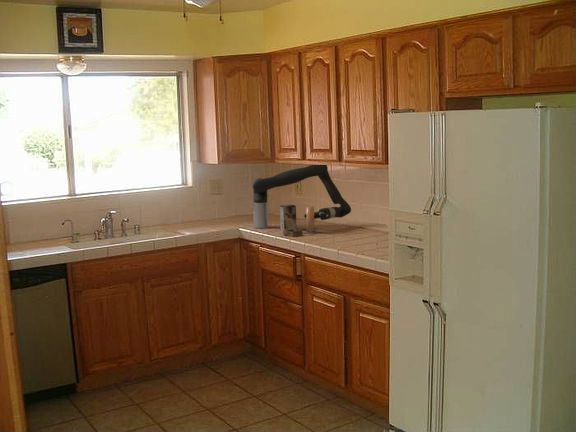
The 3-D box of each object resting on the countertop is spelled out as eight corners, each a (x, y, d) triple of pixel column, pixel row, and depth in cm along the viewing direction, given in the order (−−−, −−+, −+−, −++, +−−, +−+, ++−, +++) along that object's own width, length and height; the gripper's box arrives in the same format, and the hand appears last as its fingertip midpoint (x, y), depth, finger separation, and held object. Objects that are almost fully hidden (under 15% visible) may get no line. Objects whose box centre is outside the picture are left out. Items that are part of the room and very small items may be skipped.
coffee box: (293, 228, 450) (292, 204, 447) (296, 229, 444) (296, 205, 442) (280, 229, 446) (279, 205, 444) (283, 231, 440) (283, 206, 438)
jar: (305, 232, 430) (304, 207, 427) (310, 231, 433) (309, 206, 431) (311, 233, 426) (310, 207, 424) (316, 231, 429) (315, 206, 427)
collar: (283, 235, 423) (283, 230, 422) (293, 233, 428) (292, 229, 428) (293, 236, 417) (292, 232, 416) (302, 235, 423) (302, 230, 422)
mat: (300, 233, 430) (300, 232, 429) (310, 231, 436) (310, 230, 436) (311, 234, 423) (311, 233, 423) (320, 232, 429) (320, 231, 429)
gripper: (318, 207, 443) (301, 209, 432) (334, 208, 433) (317, 211, 422) (318, 218, 444) (301, 221, 433) (335, 220, 434) (318, 223, 423)
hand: (309, 216), depth 427 cm, fingers open, 8 cm apart
